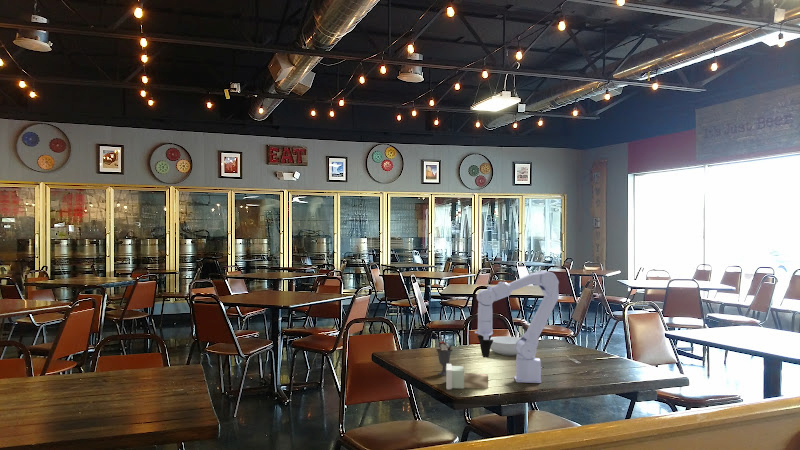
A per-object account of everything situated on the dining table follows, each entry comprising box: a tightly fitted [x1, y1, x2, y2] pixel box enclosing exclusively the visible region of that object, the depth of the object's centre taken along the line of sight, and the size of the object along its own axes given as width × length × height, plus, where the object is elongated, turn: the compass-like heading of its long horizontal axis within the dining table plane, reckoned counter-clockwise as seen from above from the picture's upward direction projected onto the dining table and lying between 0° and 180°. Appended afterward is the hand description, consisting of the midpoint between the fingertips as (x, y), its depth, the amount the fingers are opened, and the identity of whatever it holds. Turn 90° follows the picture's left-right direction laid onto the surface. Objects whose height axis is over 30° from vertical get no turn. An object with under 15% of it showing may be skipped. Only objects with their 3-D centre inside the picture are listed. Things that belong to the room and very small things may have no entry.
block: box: [452, 365, 465, 389], centre depth 218 cm, size 4×8×6 cm, turn 175°
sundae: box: [436, 336, 453, 376], centre depth 236 cm, size 7×7×15 cm
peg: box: [464, 372, 489, 389], centre depth 217 cm, size 12×4×5 cm, turn 86°
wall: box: [445, 363, 453, 390], centre depth 218 cm, size 2×11×7 cm, turn 175°
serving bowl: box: [490, 336, 521, 357], centre depth 278 cm, size 21×21×7 cm
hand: (484, 355), depth 226 cm, fingers open, 7 cm apart
